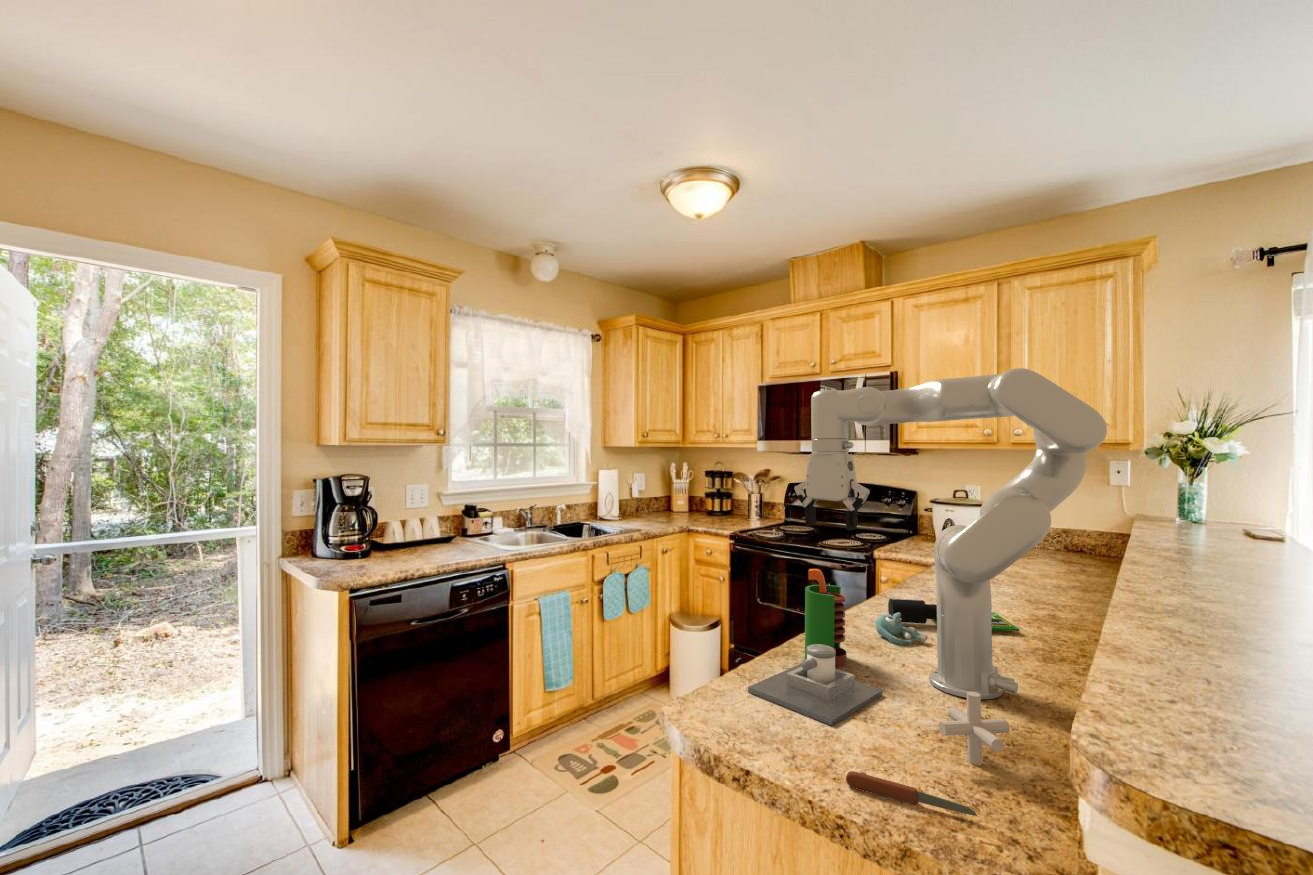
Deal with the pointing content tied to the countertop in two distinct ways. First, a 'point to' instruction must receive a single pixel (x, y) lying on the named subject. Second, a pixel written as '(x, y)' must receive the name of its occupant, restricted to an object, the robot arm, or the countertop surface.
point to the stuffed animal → (897, 630)
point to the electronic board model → (933, 613)
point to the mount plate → (816, 694)
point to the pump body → (820, 663)
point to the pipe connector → (975, 728)
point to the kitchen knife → (901, 792)
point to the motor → (824, 616)
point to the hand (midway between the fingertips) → (830, 527)
